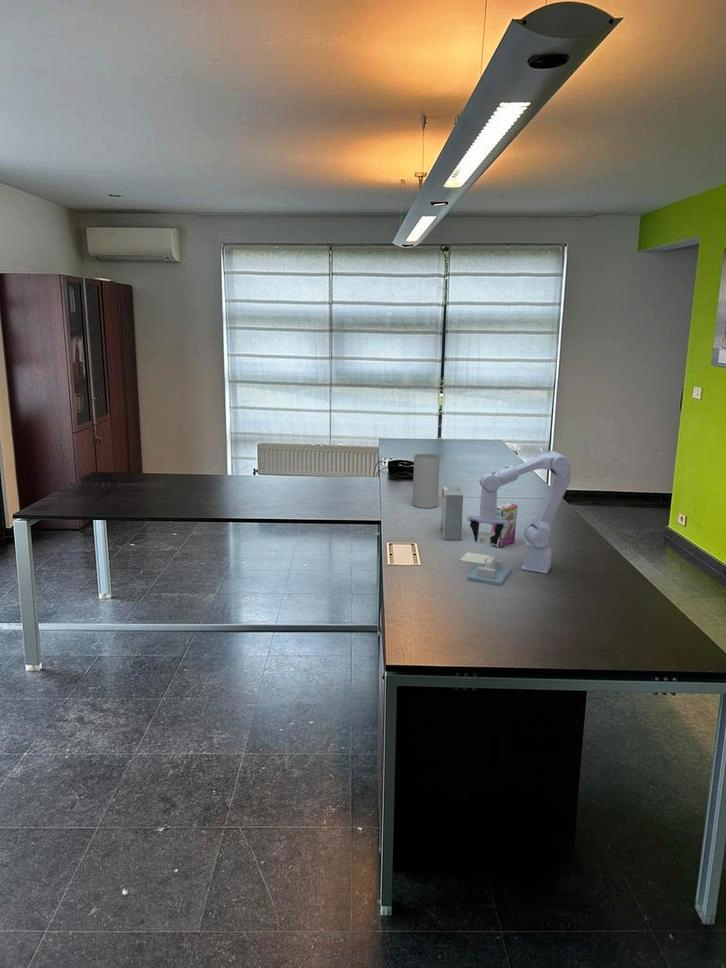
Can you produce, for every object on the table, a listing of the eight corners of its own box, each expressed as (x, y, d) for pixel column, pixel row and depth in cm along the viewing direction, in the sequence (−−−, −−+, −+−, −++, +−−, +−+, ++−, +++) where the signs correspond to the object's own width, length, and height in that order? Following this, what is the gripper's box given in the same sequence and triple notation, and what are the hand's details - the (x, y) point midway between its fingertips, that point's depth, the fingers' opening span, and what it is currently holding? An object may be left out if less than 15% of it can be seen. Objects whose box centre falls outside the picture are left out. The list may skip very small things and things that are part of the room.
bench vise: (511, 571, 248) (512, 555, 247) (500, 585, 234) (502, 568, 233) (479, 565, 253) (479, 550, 252) (467, 580, 239) (468, 563, 237)
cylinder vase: (431, 501, 344) (433, 453, 339) (441, 507, 333) (443, 458, 327) (408, 503, 340) (410, 454, 335) (418, 509, 329) (420, 459, 323)
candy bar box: (500, 548, 273) (502, 509, 270) (489, 545, 277) (492, 507, 273) (515, 542, 281) (518, 504, 277) (505, 539, 284) (507, 502, 281)
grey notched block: (495, 544, 247) (496, 534, 246) (489, 546, 244) (490, 536, 243) (482, 540, 251) (483, 531, 250) (476, 543, 248) (477, 533, 247)
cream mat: (492, 557, 263) (492, 556, 263) (485, 565, 254) (485, 564, 254) (467, 553, 267) (467, 552, 267) (459, 560, 258) (459, 559, 258)
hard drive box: (440, 529, 298) (442, 485, 293) (457, 529, 297) (459, 485, 293) (443, 540, 282) (445, 494, 278) (461, 540, 282) (463, 494, 278)
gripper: (510, 506, 245) (508, 542, 248) (471, 501, 251) (469, 536, 254) (506, 511, 239) (503, 547, 242) (466, 506, 244) (464, 541, 248)
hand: (486, 542), depth 247 cm, fingers closed on grey notched block, 7 cm apart
